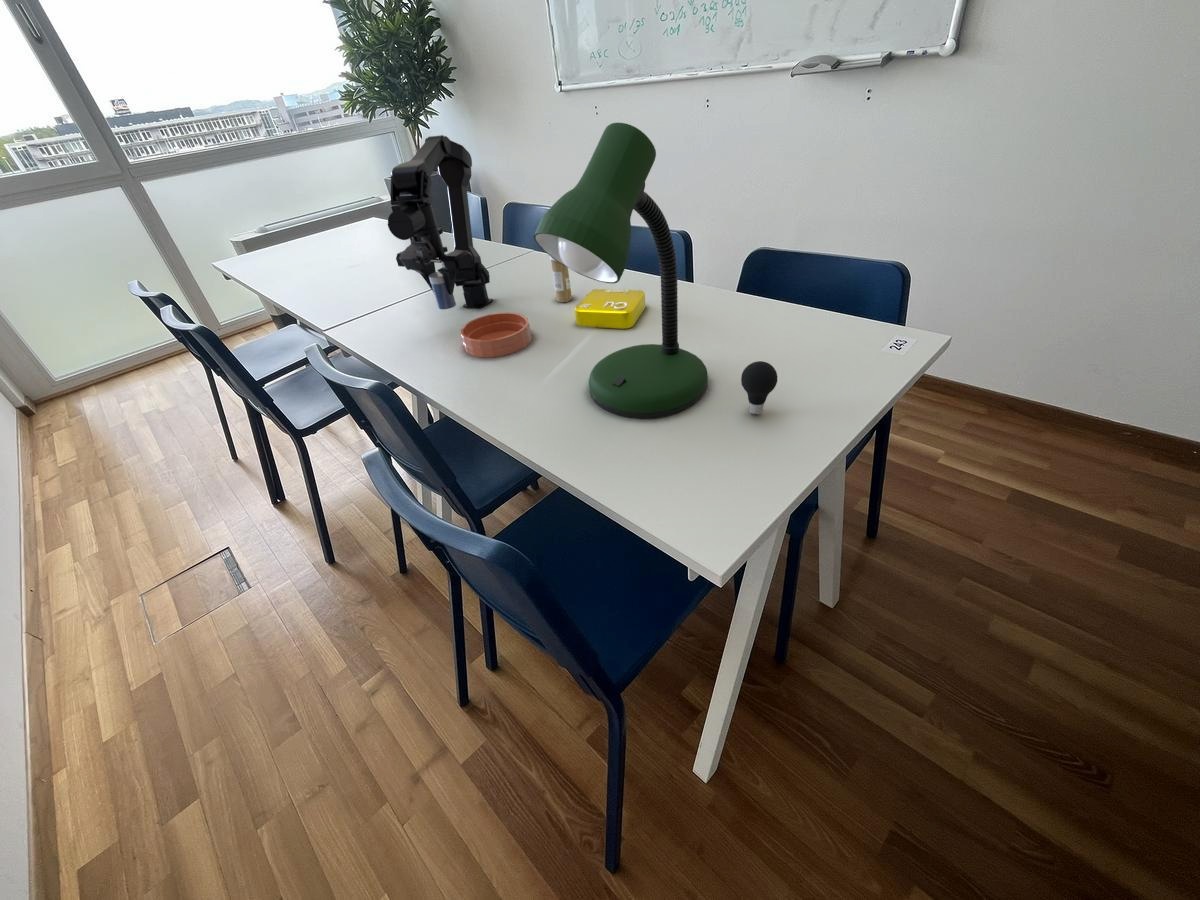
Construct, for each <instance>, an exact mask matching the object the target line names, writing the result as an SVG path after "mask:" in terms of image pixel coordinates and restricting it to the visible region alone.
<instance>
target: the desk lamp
mask: <svg viewBox="0 0 1200 900" xmlns="http://www.w3.org/2000/svg"><path fill="white" fill-rule="evenodd" d="M602 132H603V133H602V134H601V136H600V139H599V141H598V142H597V145H596V147H595V149H594V151H593V153H592V154H591V158H590V160H589V161H588V163H587V166H586V168H585V170H584V171H583V173H582V176H581V177H580V179H579V180H578V182H577V183H576V185H575V186H574V187H573V188H572V189H570V190H568V191H567V192H566V193H564V194H563V195H561V196H560V198H558V199H557V200H556V202H555V203H554V204H552V205H551V207H549V209H548V210H547V211H546V212H545V213H544V214H543V215H542V217H541V219H540V221H539V223H538V225H537V227H536V229H535V232H534V234H533V241H535V243H536V244H537V245H538V246H539V247H540V249H541V250H542V251H544V252H545V254H547V255H548V256H549V257H550V256H551V257H552V258H553V259H555V260H556V261H558V262H559V263H561V264H562V265H564V266H565V267H567V268H568V270H570V271H572V272H574V273H577V274H578V275H580V276H583V277H585V278H588V279H591V280H593V281H596V282H599V283H600V282H601V283H604V284H605V283H606V284H617V283H619V282H620V280H621V278H622V276H623V274H624V271H625V269H626V268H627V266H628V260H629V254H630V253H629V252H630V247H631V239H632V238H631V237H632V223H631V218H632V214H633V211H635V212H636V213H637V214H638V215H639V216H640V217H641V218H642V219H643V221H644V222H645V224H646V225H647V228H648V229H649V231H650V233H651V236H652V238H653V241H654V245H655V249H656V252H657V257H658V264H659V271H660V272H659V273H660V274H659V275H660V305H661V340H662V343H661V344H658V343H657V344H655V343H650V344H649V343H647V344H637V345H632V346H628V347H624V348H621V349H619V350H616V351H614V352H611V353H610V354H608V355H606V356H605V357H603V358H602V359H600V360H599V361H598V362H597V363H596V364H595V365H594V367H593V368H592V370H591V371H590V372H589V373H590V374H589V378H588V389H589V394H590V397H591V399H592V400H593V402H594V403H595V404H597V405H598V406H599V407H600V408H602V409H603V410H606V411H607V412H609V413H612V414H615V415H617V416H621V417H626V418H630V419H639V420H640V419H641V420H648V419H649V420H651V419H653V420H655V419H661V418H665V417H670V416H673V415H677V414H679V413H681V412H683V411H685V410H687V409H689V408H691V407H692V406H694V405H695V404H697V403H698V402H699V401H700V400H701V399H702V398H703V397H704V396H705V394H706V392H707V390H708V381H709V376H708V369H707V366H706V365H705V363H704V362H703V360H702V359H701V358H700V357H698V356H697V355H696V354H694V353H692V352H690V351H688V350H685V349H683V348H681V347H680V344H679V337H678V336H679V334H678V333H679V330H678V329H679V323H678V322H679V321H678V320H679V319H678V317H679V316H678V314H679V313H678V311H679V310H678V306H679V302H678V301H679V299H678V266H677V257H676V249H675V245H674V240H673V237H672V233H671V229H670V227H669V224H668V221H667V219H666V216H665V215H664V213H663V211H662V210H661V208H660V207H659V205H658V204H657V203H656V201H655V200H654V199H653V198H652V197H651V196H650V195H649V194H648V193H647V192H646V191H645V188H646V180H647V178H648V176H649V174H650V172H651V170H652V167H653V166H654V163H655V161H656V159H657V158H656V157H657V152H656V147H655V145H654V143H653V142H652V141H651V139H650V138H649V137H648V135H646V133H645V132H643V131H642V130H641V129H639V128H638V127H636V126H634V125H632V124H630V123H629V124H628V123H625V122H612V123H610V124H608V125H606V127H605V129H604V131H602Z"/></svg>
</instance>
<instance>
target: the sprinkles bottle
mask: <svg viewBox="0 0 1200 900" xmlns="http://www.w3.org/2000/svg"><path fill="white" fill-rule="evenodd" d="M549 260H550V263H551V270H552V279H553V284H554V290H555V295H556V302H558V303H568V302H570V301H572V300H573V295H572V289H571V280H570V273H569V268H567V267H565V266H564V265H562V264H561V263H559V262H558V261H556V260H555V259H553V258H552V257H551V256H550V255H549Z"/></svg>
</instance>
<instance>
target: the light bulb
mask: <svg viewBox="0 0 1200 900" xmlns="http://www.w3.org/2000/svg"><path fill="white" fill-rule="evenodd" d="M740 378H741V379H740V383H741V386H742V388H743V390H744V391H745V392H746V394H747V400H748V411H749V413H751V414H753V415H755V416H757V415H759V414H762V413H763V411H764V407H765V403H766V401H767V398H768V396H769V394H770V393H771V392H773V391H774V390H775V388H776V386H777V384H778V372H777V370H776V369H775V367H774V366H773V365H772V364H771V363H769V362H767V361H762V360H758V361H754V362H751V363H749V364H748V365H747V366H746V367H745V368H744V369H743V371H742V372H741V377H740Z"/></svg>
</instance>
